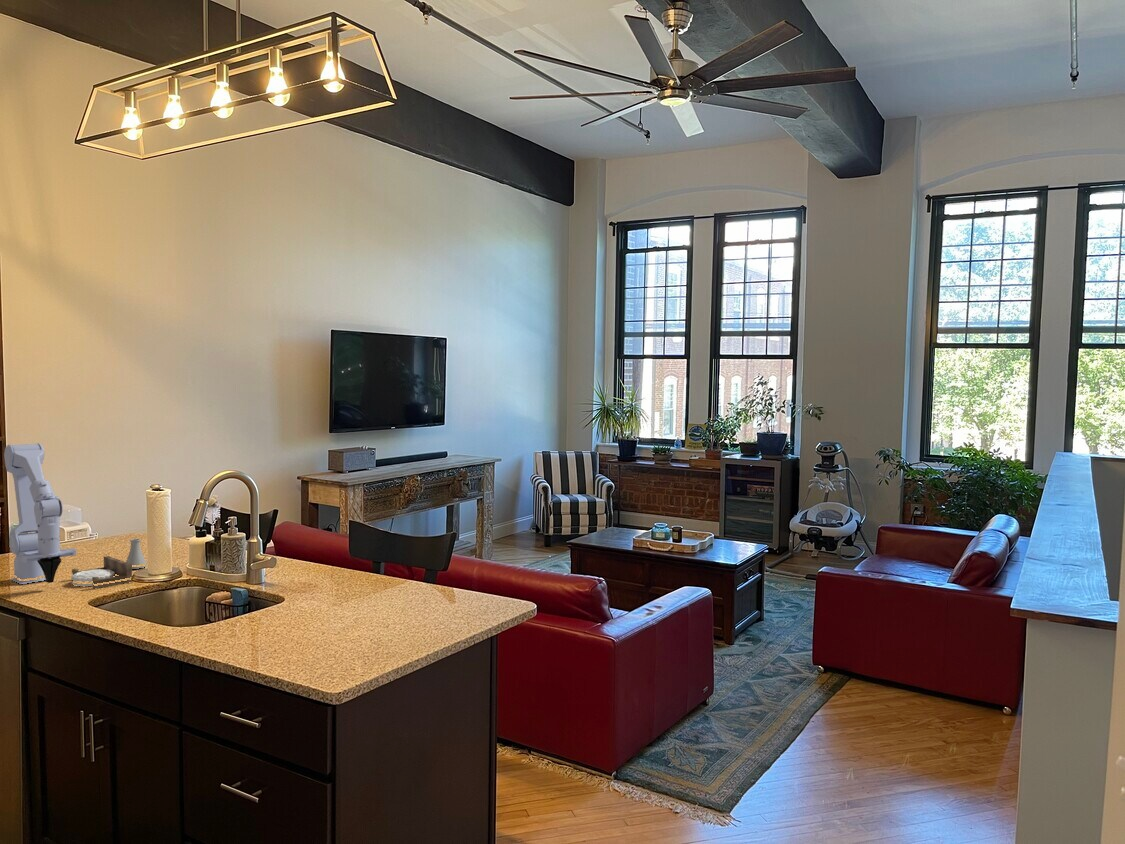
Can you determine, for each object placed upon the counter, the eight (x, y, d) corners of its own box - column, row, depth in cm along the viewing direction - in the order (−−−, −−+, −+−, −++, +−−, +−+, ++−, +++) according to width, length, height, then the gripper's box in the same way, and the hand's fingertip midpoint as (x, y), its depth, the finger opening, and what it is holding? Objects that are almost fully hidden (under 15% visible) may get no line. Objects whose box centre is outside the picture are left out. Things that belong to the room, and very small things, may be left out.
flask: (151, 566, 288) (151, 537, 287) (139, 571, 281) (138, 541, 280) (132, 565, 288) (131, 537, 288) (119, 570, 281) (118, 541, 281)
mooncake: (74, 590, 256) (74, 578, 256) (69, 582, 265) (68, 571, 265) (118, 584, 263) (118, 573, 263) (111, 577, 273) (110, 566, 272)
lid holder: (71, 579, 267) (70, 561, 267) (108, 573, 276) (108, 556, 276) (93, 589, 256) (93, 570, 255) (132, 582, 264) (131, 564, 264)
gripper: (26, 543, 246) (27, 588, 246) (79, 536, 257) (80, 579, 257) (18, 540, 250) (19, 584, 251) (70, 533, 261) (71, 576, 262)
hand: (49, 582), depth 254 cm, fingers closed
